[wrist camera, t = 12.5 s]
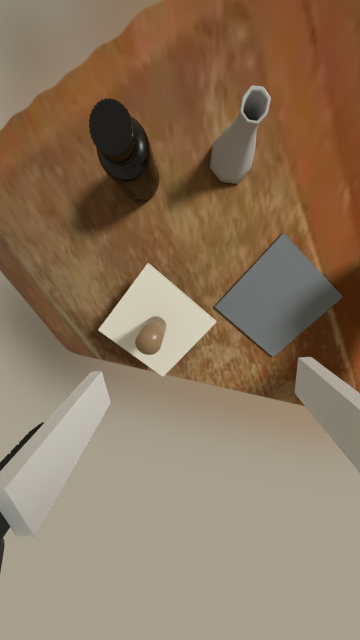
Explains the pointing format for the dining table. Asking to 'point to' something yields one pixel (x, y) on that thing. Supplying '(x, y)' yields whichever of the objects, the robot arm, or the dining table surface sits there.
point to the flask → (240, 138)
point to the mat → (278, 297)
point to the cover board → (160, 305)
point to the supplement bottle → (124, 149)
